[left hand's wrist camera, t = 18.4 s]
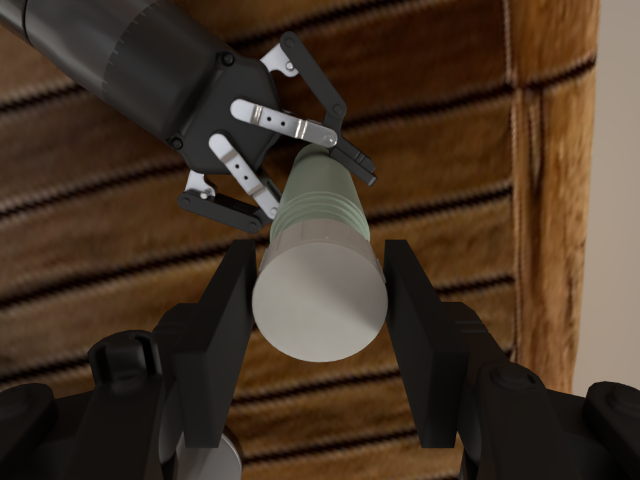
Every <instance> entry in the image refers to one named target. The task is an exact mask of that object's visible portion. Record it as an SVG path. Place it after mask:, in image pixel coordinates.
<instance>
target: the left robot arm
mask: <svg viewBox="0 0 640 480" xmlns="http://www.w3.org/2000/svg"><path fill="white" fill-rule="evenodd" d="M383 274H384V277H385V280H386V283H385V286H386V290H387V295H388V310H387V315H386V318H385V320H386V323H387V327H388V331H389V334H390V338H391V341H392V345H393V348H394V352H395V355H396V359H397V362H398V366H399V369H400V373H401V376H402V380H403V383H404V387H405V390H406V394H407V397H408V401H409V405H410V408H411V412H412V415H413V419H414V422H415V426H416V429H417V433H418V436H419V440H420V443H421V447H422V448H454V446H455V440H456V434H457V430H458V433H459V435H460V438H461V440H462V443H463V445H464V451H463V457H462V462H461V468H460V473H459V479H458V480H640V391H639V390H637V389H636V388H633V387H630V386H627V385H624V384H620V383H615V382H607V381H603V382H597V383H594V384H593V385H592V386H590V387H589V389H588V392H587V395H586V398H584V397H580V396H575V395H571V394H566V393H562V392H557V391H553V390H550V389H546V388H545V385H544V384H543V382H542V381H541V380H540V378H539V377H538V376H537V375H536V374H534V373H533V372H532V371H531V370H529V369H527V368H525V367H523V366H521V365H519V364H516V363H513V362H510V361H509V360H508V358H507V357H506V355H505V354H504V353H503V351H502V350H501V348H500V347H499V345H498V344H497V342H496V341H495V340H494V338H493V337H492V335H491V334H490V333H488V330H487V328H486V327H485V325H484V324H482V321H481V320H480V318H479V317H478V315H477V314H476V312H475V311H474V310H472V309H471V308H469V307H468V306H466V305H465V304H463V303H462V302H441V300H440V298H439V297H438V295H437V293H436V291H435V290H434V288H433V286H432V284H431V283H430V281H429V279H428V277H427V276H426V274H425V272H424V270H423V269H422V267H421V265H420V263H419V262H418V260H417V258H416V256H415V255H414V253H413V251H412V249H411V248H410V246H409V244H408V242H407V241H406V240H385V253H384V268H383ZM256 279H257V268H256V253H255V240H234V241H233V242H232V244H231V246H230V248H229V249H228V251H227V253H226V255H225V256H224V258H223V260H222V262H221V263H220V265H219V267H218V269H217V270H216V272H215V274H214V276H213V277H212V279H211V281H210V283H209V284H208V286H207V288H206V290H205V291H204V293H203V295H202V297H201V298H200V300H199V302H198V303H178V304H177V305H176V306H174V307H173V308H171V309H170V310H168V311H167V312H165V314H164V315H163V317H162V318H161V320H160V321H159V323H158V325H156V327H155V328H154V330H153V331H152V333H151V332H148V331H144V330H128V331H123V332H119V333H115V334H113V335H110V336H108V337H105V338H103V339H102V340H100V341H99V342H97V343H96V344H94V345H93V346H92V348H91V349H90V350H89V351H88V353H87V354H88V358H89V362H90V366H91V370H92V374H93V377H94V381H95V385H96V386H95V388H94V390H92V391H89V392H85V393H81V394H77V395H72V396H68V397H63V398H59V399H55V398H54V395H53V392H52V389H51V388H49V387H48V386H47V385H46V384H39V383H31V384H23V385H19V386H15V387H12V388H9V389H7V390H5V391H3V392H1V393H0V480H241V475H242V471H243V465H244V457H243V452H242V449H241V446H240V444H239V442H238V440H237V439H236V437H235V436H234V435H233V433H232V432H231V431H230V430H229V429H228V428H227V427H226V426H225V422H226V419H227V415H228V412H229V408H230V405H231V401H232V397H233V394H234V390H235V387H236V383H237V380H238V376H239V373H240V369H241V366H242V362H243V359H244V355H245V352H246V348H247V345H248V341H249V338H250V334H251V331H252V327H253V324H254V320H255V319H254V315H253V311H252V291H253V288H254V285H255V282H256Z"/></svg>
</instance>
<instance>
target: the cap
mask: <svg viewBox="0 0 640 480" xmlns="http://www.w3.org/2000/svg"><path fill="white" fill-rule="evenodd" d="M258 271H259V273H258V276H257V279H256V282H255V285H254V288H253V291H252V311H253V315H254V319H255V321H256V324H257V326H258V328H259V330H260V331H261V333H262V334H263V336H264V337H265V338H266V339H267V340H268V341H269V342H270V343H271V344H272V345H273V346H274V347H276V348H277V349H278V350H280V351H282V352H283V353H285V354H287V355H289V356H292V357H294V358H297V359H301V360H305V361H312V362H328V361H335V360H339V359H343V358H346V357H348V356H351V355H353V354H355V353H357V352H358V351H360V350H361V349H363V348H364V347H366V346H367V345H368V344H369V343H370V342H371V341H372V340H373V339H374V338H375V337H376V335H377V334H378V333H379V331H380V329H381V328H382V326H383V324H384V321H385V318H386V315H387V310H388V295H387V290H386V286H385V283H386V280H385V277H384V274H383V271H382V268H381V265H380V263H379V260H378V259H376V256H375V253H374V251H373V249H372V247H371V246H370V243H369V240H368V239H367V240H366V239H365V238H364V236H362V235H361V234H360V233H359V232H358V231H356V230H355V229H354V228H352V227H351V226H350V225H346V224H344V223H341V222H339V221H334V220H330V219H327V218H325V219H311V220H305V221H303V220H302V221H301V222H298V223H296V224H294V225H291V226H290V227H288V228H286V229H285V230H283V231H280V232H279V234H278V235H277V236H276V237H275V239H274V240H273V241H272V242H271V244H270V245H269V247H268V249H267V248H266V249H265V252H264V255H263V258H262V261H261V264H260V266H259V269H258Z"/></svg>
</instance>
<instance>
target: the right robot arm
mask: <svg viewBox="0 0 640 480" xmlns="http://www.w3.org/2000/svg"><path fill="white" fill-rule="evenodd" d="M0 25H2V26H3V27H5V28H6V29H7V30H9V31H10V32H12V33H13V34H15V35H16V36H17V37H19V38H20V39H22V40H23V41H25V42H26V43H28V44H29V45H30V46H32V47H33V48H35V49H36V50H37V51H39V52H40V53H41V54H43V55H44V56H45V57H47V58H48V59H49V60H50V61H51V62H52V63H53V64H55V65H56V66H57V67H58V68H59V69H60V70H61V71H62V72H64V73H65V74H66V75H67V76H68V77H70V78H71V79H72V80H74V81H75V82H76V83H78V84H79V85H81V86H82V87H84V88H85V89H87V90H88V91H90V92H91V93H92V94H94V95H95V96H97V97H98V98H100V99H101V100H103V101H104V102H105V103H107V104H108V105H110V106H111V107H113V108H114V109H116V110H117V111H118V112H120V113H121V114H123V115H124V116H126V117H127V118H129V119H130V120H132V121H133V122H134V123H136V124H137V125H139V126H140V127H142V128H143V129H145V130H146V131H147V132H149V133H150V134H152V135H153V136H155V137H156V138H158V139H159V140H160V141H162V142H163V143H165V144H166V145H168V146H169V147H171V148H173V149H174V150H176V151H177V152H178V153H179V154H180V155H181V156H182V158H183V159H184V161H185V163H186V164H187V166H188V167H189V168H190V169H191V171H190V175H189V178H188V182H187V186H186V189H185V191H184V192H183V193H182V194H181V195H179V197H178V204H179V206H180V207H181V208H182V209H184V210H187V211H190V212H193V213H196V214H198V215H201V216H204V217H207V218H209V219H212V220H215V221H218V222H221V223H223V224H226V225H229V226H232V227H234V228H237V229H240V230H243V231H245V232H248V233H252V234H254V233H257V232H258V231H259V230H260V229H261V228H262V227H264V226H265V225H267V224H268V223H270V222H273V220H274V217H275V215H276V212H277V209H278V206H279V203H280V200H281V198H282V194H281V193H280V191H279V190H278V188H277V187H276V186H275V184H274V183H273V182H272V180H271V179H270V176H269V174H268V173H267V171H266V170H265V169H264V167H263V166H262V165H261V164H262V163H263V161H264V160H265V158H266V156H267V154H268V151H269V148H270V147H271V146H272V145H274V144H275V143H276V142H277V141H278V139H279V138H280V137H281V135H282V134H284V135H287V136H290V137H293V138H297V139H302V140H305V141H308V142H311V143H314V144H317V145H320V146H323V147H325V148H326V149H327V150H329V155H330V156H331V157H332V158H333V159H335V160H336V161H337V162H339V163H340V164H342V165H343V166H344V167H345V168H347V169H348V170H349V171H351V172H352V173H353V174H355V175H356V176H357V177H358V178H360V179H361V180H362V181H364V182H365V183H366V184H368V185H369V186H371V187H372V186H373V184H374V183H375V182H376V181H377V179H378V178H377V176H376V175H375V174H374V173H373V171H374V170H375V169H376V167H375V165H374V163H373V162H372V160H371V159H370V157H368V156H367V155H366V154H364V153H363V152H362V151H361V150H359V149H358V148H357V147H355V146H354V145H353V144H352V143H350V142H349V141H348V140H346V139H345V138H344V137H343V136H342V135H341V132H340V129H341V125H342V121H343V118H344V116H345V114H346V112H347V106H346V104H345V102H344V101H343V99H342V98H341V96H340V95H339V94H338V92H337V91H336V89H335V88H334V87H333V85H332V84H331V82H330V81H329V80H328V78H327V77H326V75H325V74H324V73H323V71H322V70H321V68H320V67H319V66H318V64H317V63H316V61H315V60H314V59H313V57H312V56H311V54H310V53H309V51H308V50H307V49H306V47H305V46H304V44H303V43H302V42H301V40H300V39H299V37H298V36H297V35H296V34H295V33H293V32H285V33H284V34H282V36H281V38H280V42H279V43H278V44H277V45H276V46H275V47H274V48H273V49H272V50H271V51H269V52H268V53H267V54H266V55H265V56H264V57H263V58H262V59H260V60H258V59H256V58H251V57H245V56H242V55H241V54H239V53H238V52H236V51H235V50H234V49H233V48H231V47H230V46H229V45H227V44H226V43H225V42H224V41H222V40H221V39H220V38H218V37H217V36H216V35H215V34H213V33H212V32H211V31H209V30H208V29H207V28H206V27H204V26H203V25H202V24H201V23H199V22H198V21H197V20H195V19H194V18H193V17H192V16H190V15H189V14H188V13H186V12H185V11H184V10H183V9H181V8H180V7H179V6H177V5H176V4H175V3H174V2H172V1H171V0H0ZM276 70H278V71H281V72H283V73H284V74H285V75H286V76H288V77H295V76H297V75H298V74H300V75H301V76H302V78H303V79H304V81H305V82H306V83H307V85H308V86H309V87H310V89H311V90H312V91H313V93H314V94H315V96H316V97H317V98H318V100H319V101H320V102H321V104H322V105H323V106H324V108H325V109H326V111H325V115H324V118H323V122H322V123H320V122H318V121H315V120H312V119H309V118H306V117H304V116H302V115H299V114H296V113H293V112H290V111H287V110H284V109H283V108H282V105H281V102H280V99H279V96H278V93H277V90H276V87H275V84H274V80H273V77H272V74H271V73H272V72H273V71H276ZM207 174H224V175H233V176H234V177H235V178H236V180H237V181H238V182H239V184H240V185H241V186H242V187H243V189H244V190H245V191H246V192H247V194H248V195H250V196H252V197H253V198H254V199H255V201H256V202H257V203H258V204H259V206H258V207H255V206H253V205H250V204H247V203H245V202H242V201H239V200H236V199H234V198H231V197H228V196H226V195H223V194H220V193H218V188H217V186H216V185H215V184H214V183H212V182H210V181H209V179H208V178H207ZM246 176H247V177H248V178H246Z"/></svg>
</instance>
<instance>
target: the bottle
mask: <svg viewBox="0 0 640 480" xmlns="http://www.w3.org/2000/svg"><path fill="white" fill-rule="evenodd" d="M325 218H327V219H330V220H334V221H339V222H341V223H344V224H346V225H350V226H351V227H352V228H354V229H355V230H356V231H358V232H359V233H360V234H361V235H362V236H364V238H365V239H366V240H367V239H368V240H369V243H370V232H369V227H368V224H367V221H366V218H365V215H364V212H363V209H362V207H361V204H360V201H359V198H358V195H357V192H356V190H355V187H354V184H353V181H352V178H351V175H350V173H349V170H348V169H347V168H345V167H344V166H343V165H342V164H340V163H339V162H337V161H336V160H335V159H333V158H332V157H331V156H330V155H329V150H327V149H326V148H325V147H323V146H320V145H317V144H314V143H312V144H309V145H307V146H306V147H304V148H303V149H302V150H301V151H300V152H299V153H298V155H297V156H296V158H295V161H294V164H293V167H292V169H291V172H290V175H289V178H288V181H287V183H286V186H285V189H284V192H283V195H282V198H281V200H280V203H279V206H278V209H277V212H276V215H275V217H274V220H273V223H272V226H271V232H270V244H271V242H272V241H273V240H274V239H275V237H276V236H277V235H278V234H279V232H280V231H283V230H285V229H286V228H288V227H290V226H291V225H294V224H296V223H298V222H301V221H302V220H303V221H305V220H311V219H325Z"/></svg>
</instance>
